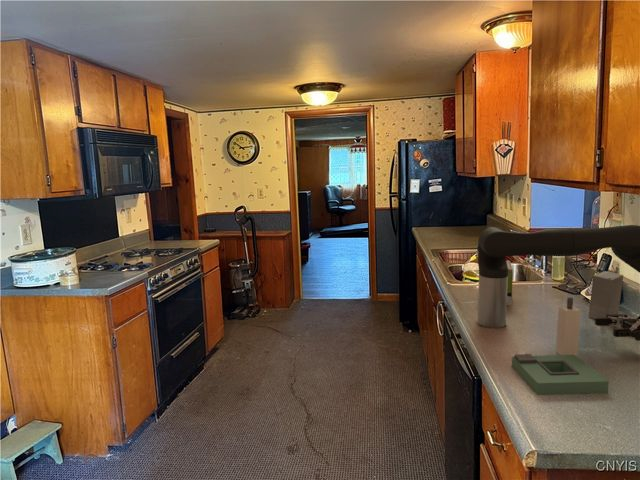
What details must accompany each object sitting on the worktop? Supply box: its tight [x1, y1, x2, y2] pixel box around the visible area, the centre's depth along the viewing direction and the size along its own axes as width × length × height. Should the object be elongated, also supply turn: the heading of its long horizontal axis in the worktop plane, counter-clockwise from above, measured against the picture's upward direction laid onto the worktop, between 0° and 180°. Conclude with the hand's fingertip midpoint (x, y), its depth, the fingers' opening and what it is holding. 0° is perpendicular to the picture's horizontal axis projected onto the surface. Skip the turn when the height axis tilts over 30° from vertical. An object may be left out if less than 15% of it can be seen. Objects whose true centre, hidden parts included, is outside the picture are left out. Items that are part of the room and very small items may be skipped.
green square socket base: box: [511, 353, 610, 396], centre depth 116 cm, size 15×17×4 cm
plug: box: [555, 296, 582, 357], centre depth 128 cm, size 4×4×17 cm
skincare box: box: [588, 270, 624, 320], centre depth 155 cm, size 8×7×16 cm
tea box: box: [506, 260, 514, 306], centre depth 180 cm, size 15×10×15 cm
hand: (604, 327), depth 128 cm, fingers open, 8 cm apart
